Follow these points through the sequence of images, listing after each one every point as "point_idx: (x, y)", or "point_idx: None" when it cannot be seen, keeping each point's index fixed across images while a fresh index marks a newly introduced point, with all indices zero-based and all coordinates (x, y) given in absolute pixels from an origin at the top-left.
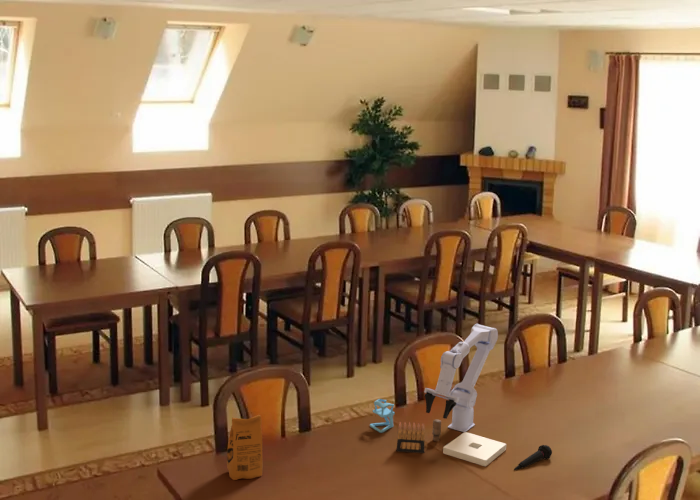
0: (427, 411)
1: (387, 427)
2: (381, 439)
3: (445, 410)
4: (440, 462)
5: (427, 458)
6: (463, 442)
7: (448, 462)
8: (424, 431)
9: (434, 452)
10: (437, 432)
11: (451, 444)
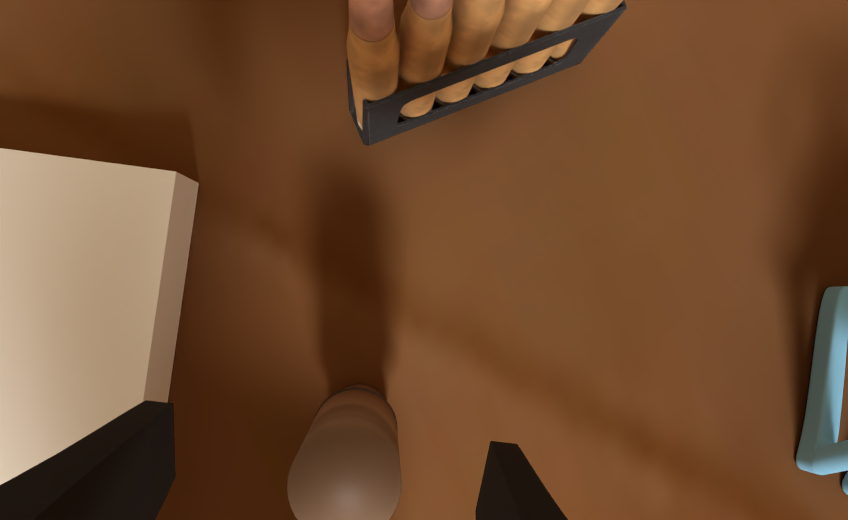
0: (495, 450)
1: (827, 381)
2: (766, 171)
3: (51, 482)
4: (154, 6)
5: (283, 24)
6: (28, 388)
7: (90, 40)
8: (349, 29)
9: (274, 163)
10: (328, 404)
11: (125, 276)
